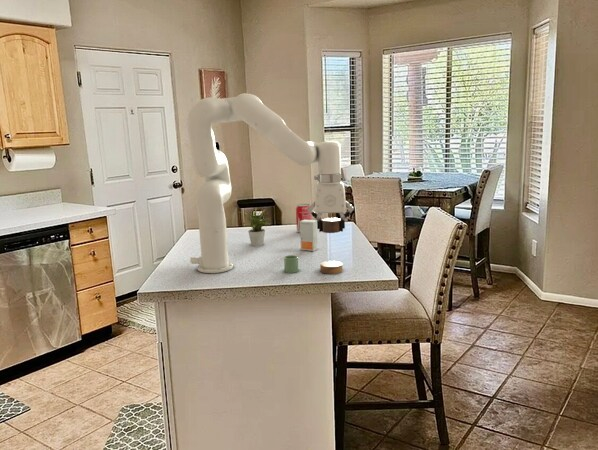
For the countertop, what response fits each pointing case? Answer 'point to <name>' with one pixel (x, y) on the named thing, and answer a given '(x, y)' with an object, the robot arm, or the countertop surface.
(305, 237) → the cosmetic box
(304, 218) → the soda can
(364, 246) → the countertop surface
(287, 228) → the countertop surface
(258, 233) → the house plant
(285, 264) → the plastic cup
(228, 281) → the countertop surface
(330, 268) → the oak chip
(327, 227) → the brown round canister
